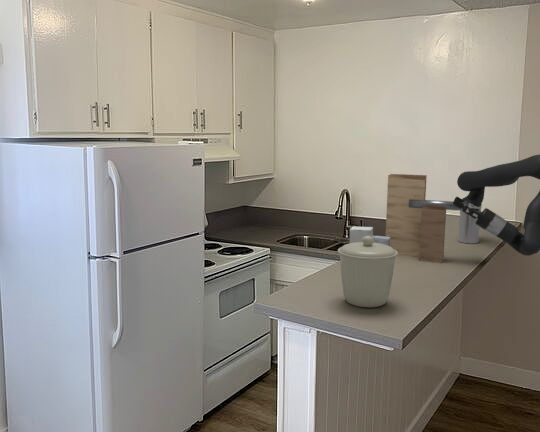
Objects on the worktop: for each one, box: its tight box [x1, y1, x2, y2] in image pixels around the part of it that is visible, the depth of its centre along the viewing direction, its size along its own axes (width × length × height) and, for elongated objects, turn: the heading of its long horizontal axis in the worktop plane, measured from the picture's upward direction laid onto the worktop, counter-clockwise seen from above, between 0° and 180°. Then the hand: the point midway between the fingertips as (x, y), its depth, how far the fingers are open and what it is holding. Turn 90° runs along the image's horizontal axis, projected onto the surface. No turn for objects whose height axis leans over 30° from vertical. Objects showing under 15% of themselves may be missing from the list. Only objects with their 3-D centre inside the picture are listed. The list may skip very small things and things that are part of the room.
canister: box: [337, 236, 398, 308], centre depth 172 cm, size 18×18×21 cm
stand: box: [385, 173, 427, 257], centre depth 237 cm, size 7×15×34 cm, turn 70°
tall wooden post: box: [418, 205, 447, 264], centre depth 227 cm, size 7×9×22 cm
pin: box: [409, 199, 469, 211], centre depth 224 cm, size 3×23×3 cm, turn 70°
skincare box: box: [349, 226, 374, 243], centre depth 214 cm, size 8×7×16 cm
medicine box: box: [373, 235, 390, 246], centre depth 231 cm, size 8×4×9 cm, turn 65°
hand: (454, 199), depth 222 cm, fingers open, 8 cm apart
